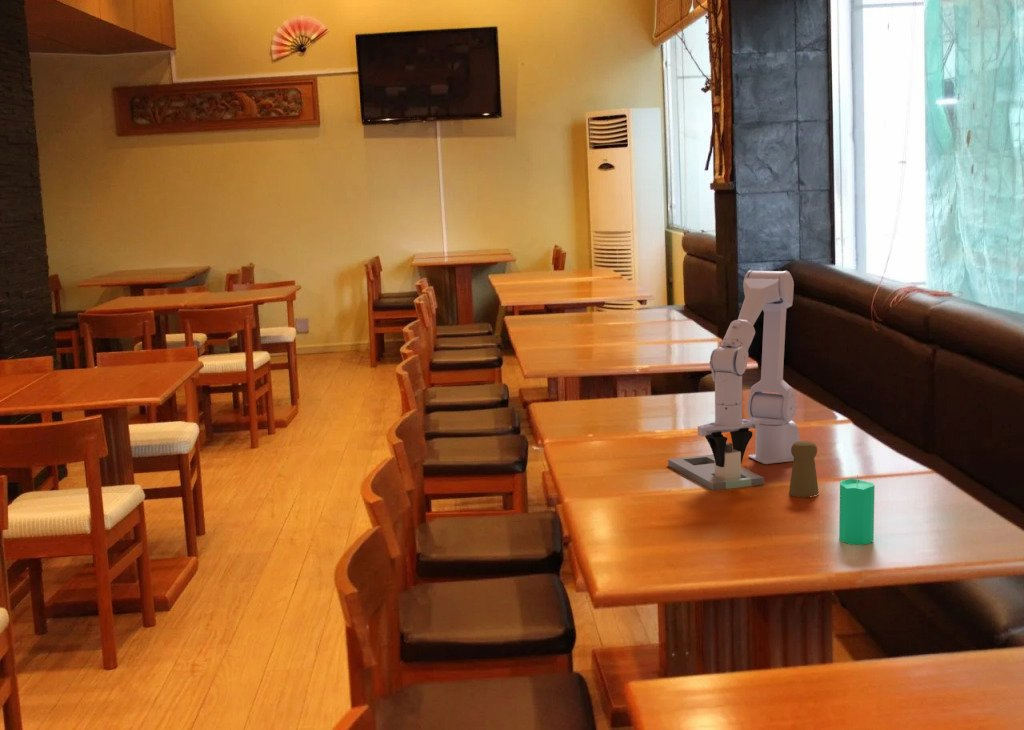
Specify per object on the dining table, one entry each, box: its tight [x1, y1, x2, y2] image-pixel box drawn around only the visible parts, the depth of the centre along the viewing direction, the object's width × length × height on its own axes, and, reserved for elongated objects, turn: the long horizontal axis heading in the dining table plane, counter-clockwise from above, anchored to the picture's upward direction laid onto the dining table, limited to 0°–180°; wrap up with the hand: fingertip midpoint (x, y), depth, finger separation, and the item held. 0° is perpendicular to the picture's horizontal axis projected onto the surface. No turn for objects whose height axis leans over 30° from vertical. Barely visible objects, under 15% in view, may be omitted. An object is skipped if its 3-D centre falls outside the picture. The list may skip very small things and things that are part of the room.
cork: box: [788, 440, 820, 498], centre depth 237 cm, size 6×6×11 cm
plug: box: [715, 442, 742, 480], centre depth 248 cm, size 4×4×8 cm
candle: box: [838, 474, 876, 546], centre depth 207 cm, size 6×6×12 cm
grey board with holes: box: [667, 453, 765, 491], centre depth 255 cm, size 12×23×2 cm, turn 16°
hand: (728, 464), depth 248 cm, fingers closed on plug, 4 cm apart
